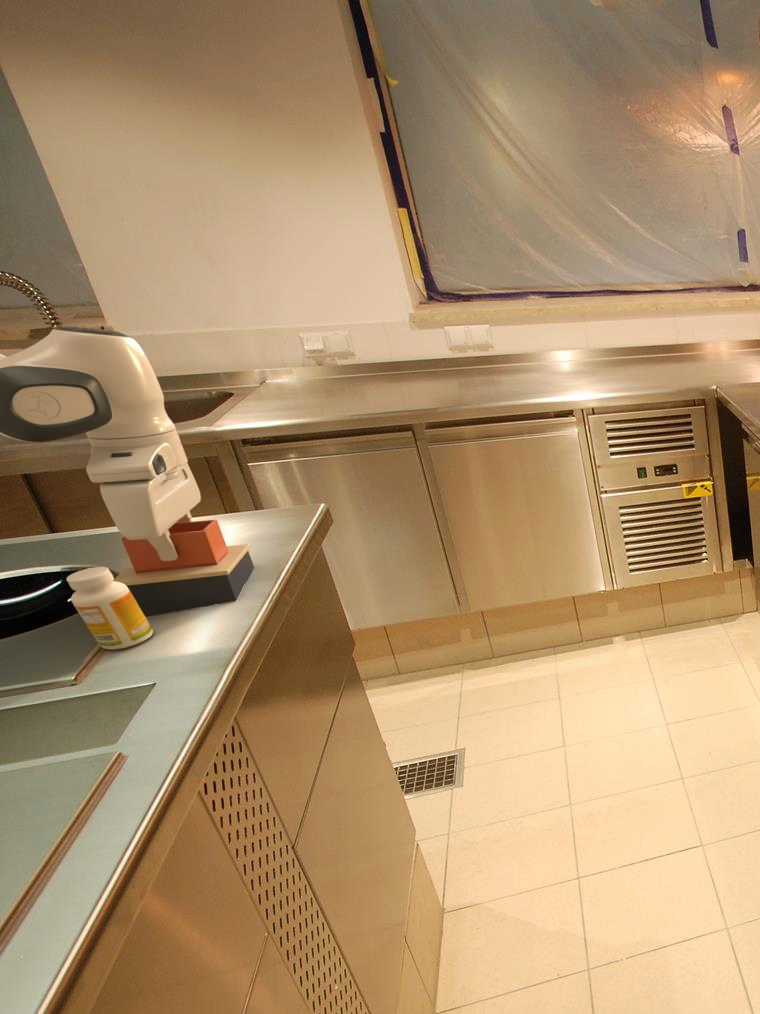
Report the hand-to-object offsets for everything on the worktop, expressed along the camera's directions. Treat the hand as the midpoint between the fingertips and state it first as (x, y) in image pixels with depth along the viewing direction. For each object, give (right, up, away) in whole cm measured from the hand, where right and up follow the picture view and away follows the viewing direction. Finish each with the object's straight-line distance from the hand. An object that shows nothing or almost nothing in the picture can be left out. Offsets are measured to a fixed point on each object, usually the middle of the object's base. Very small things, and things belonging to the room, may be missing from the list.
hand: (179, 551), depth 119 cm
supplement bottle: (+2, -13, -9) cm, 16 cm away
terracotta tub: (0, -1, +1) cm, 2 cm away
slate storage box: (0, -7, +3) cm, 8 cm away
